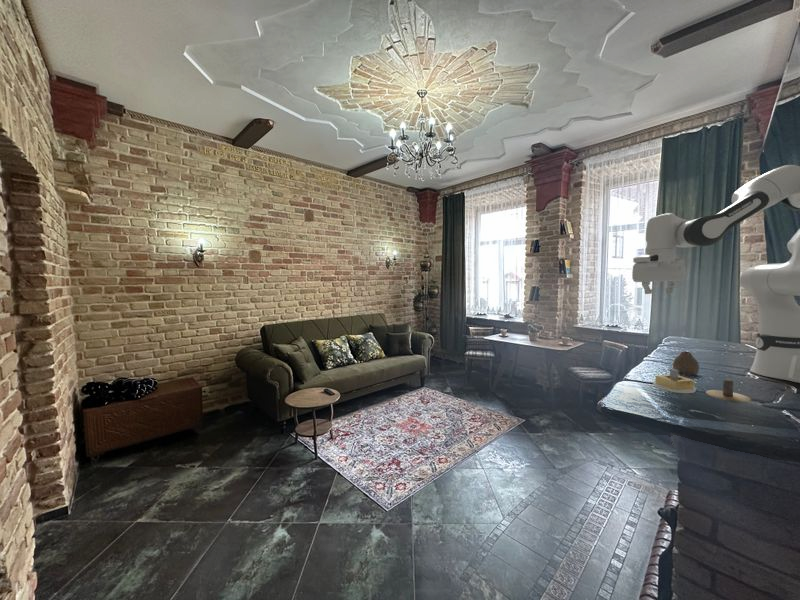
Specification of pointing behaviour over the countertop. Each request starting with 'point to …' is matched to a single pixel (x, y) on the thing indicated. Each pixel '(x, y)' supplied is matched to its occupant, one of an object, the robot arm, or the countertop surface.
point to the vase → (686, 364)
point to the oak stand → (728, 393)
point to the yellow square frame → (674, 382)
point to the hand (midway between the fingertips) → (658, 293)
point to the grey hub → (675, 377)
